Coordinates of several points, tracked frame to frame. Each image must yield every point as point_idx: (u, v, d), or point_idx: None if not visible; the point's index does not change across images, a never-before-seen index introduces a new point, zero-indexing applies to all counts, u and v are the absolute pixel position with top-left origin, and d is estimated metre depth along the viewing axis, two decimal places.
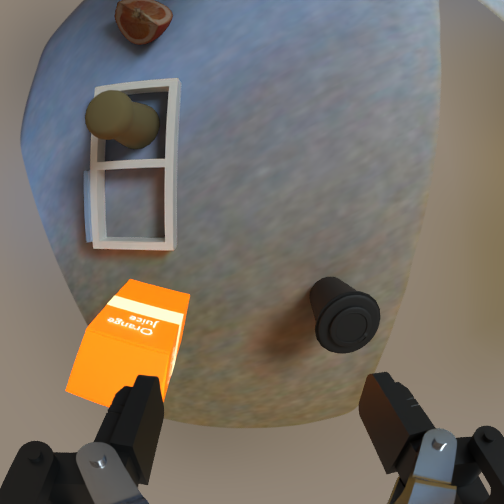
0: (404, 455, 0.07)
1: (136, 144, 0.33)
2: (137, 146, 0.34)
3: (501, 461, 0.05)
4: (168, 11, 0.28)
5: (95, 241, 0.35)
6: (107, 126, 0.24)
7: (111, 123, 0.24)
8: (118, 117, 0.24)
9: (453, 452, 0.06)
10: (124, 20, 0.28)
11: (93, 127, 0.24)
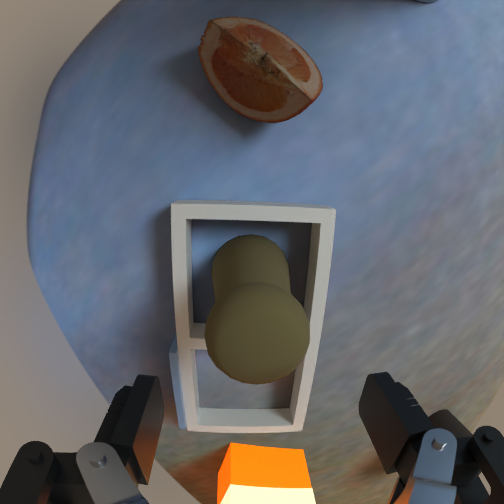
0: (404, 455, 0.07)
1: None
2: None
3: (501, 461, 0.05)
4: (308, 59, 0.17)
5: (191, 424, 0.25)
6: (269, 377, 0.14)
7: (278, 373, 0.14)
8: (293, 363, 0.14)
9: (453, 452, 0.06)
10: (222, 63, 0.17)
11: (236, 375, 0.14)
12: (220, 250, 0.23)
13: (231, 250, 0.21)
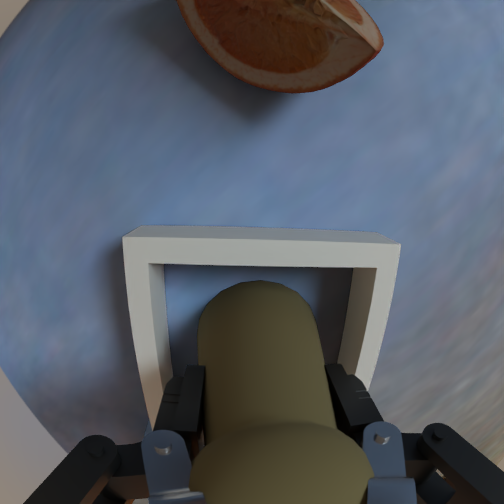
0: None
1: None
2: None
3: (459, 458, 0.05)
4: (353, 0, 0.09)
5: None
6: None
7: None
8: None
9: (395, 447, 0.06)
10: None
11: None
12: (210, 306, 0.14)
13: (227, 314, 0.12)
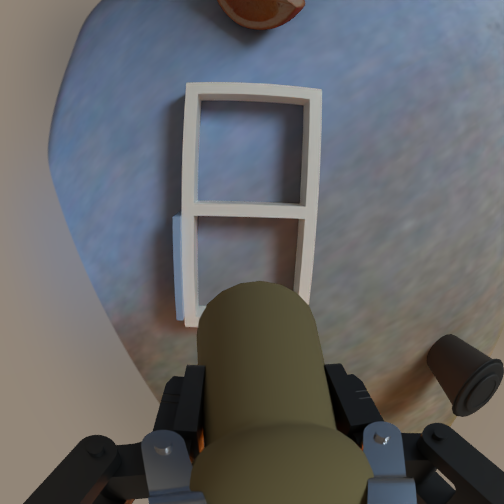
0: None
1: None
2: None
3: (459, 458, 0.05)
4: None
5: (189, 317, 0.26)
6: None
7: None
8: None
9: (395, 447, 0.06)
10: None
11: None
12: (210, 307, 0.14)
13: (227, 315, 0.12)
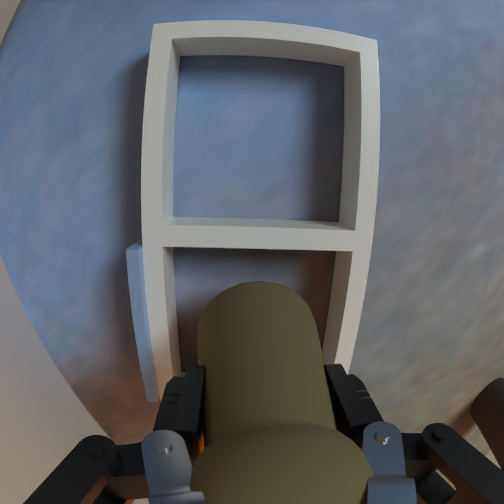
0: None
1: None
2: None
3: (459, 457, 0.05)
4: None
5: None
6: None
7: None
8: None
9: (395, 447, 0.06)
10: None
11: None
12: (210, 307, 0.14)
13: (227, 315, 0.12)
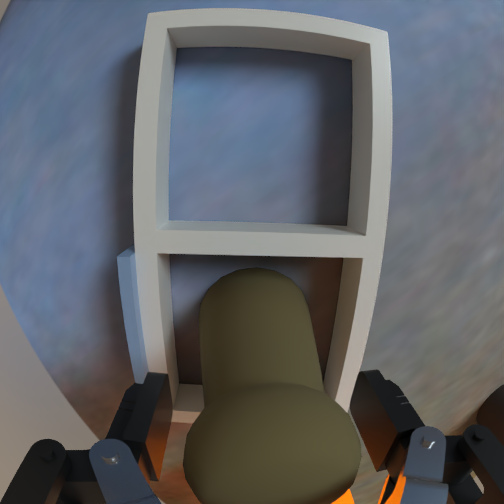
0: (393, 453, 0.07)
1: None
2: None
3: (493, 460, 0.05)
4: None
5: None
6: None
7: None
8: (330, 503, 0.06)
9: (442, 450, 0.06)
10: None
11: None
12: (211, 291, 0.15)
13: (226, 296, 0.14)
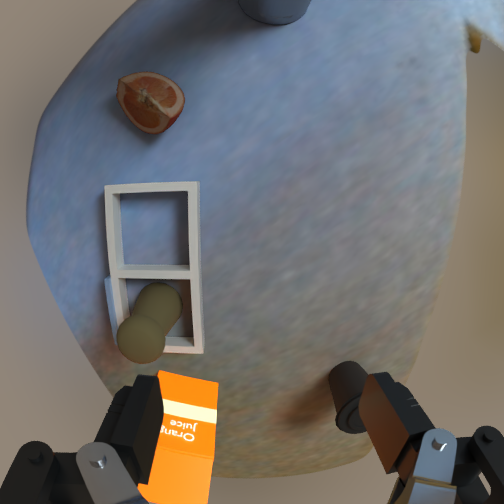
0: (404, 455, 0.07)
1: None
2: None
3: (501, 461, 0.05)
4: (179, 91, 0.30)
5: None
6: (144, 360, 0.28)
7: (147, 358, 0.28)
8: (153, 354, 0.28)
9: (453, 452, 0.06)
10: (128, 103, 0.29)
11: (129, 358, 0.28)
12: (141, 291, 0.37)
13: (143, 293, 0.35)
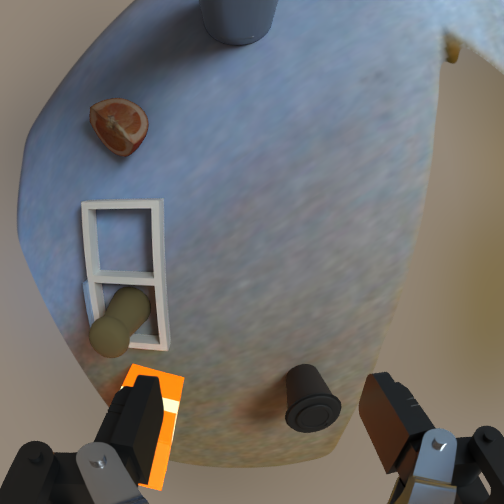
0: (404, 455, 0.07)
1: None
2: None
3: (501, 461, 0.05)
4: (143, 117, 0.33)
5: None
6: (111, 354, 0.31)
7: (113, 353, 0.31)
8: (118, 350, 0.31)
9: (453, 452, 0.06)
10: (100, 128, 0.32)
11: (99, 352, 0.31)
12: None
13: (115, 296, 0.39)
